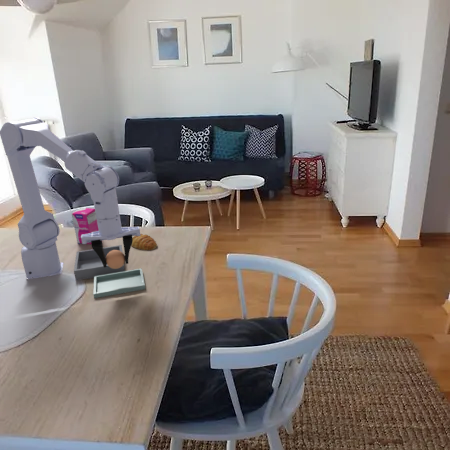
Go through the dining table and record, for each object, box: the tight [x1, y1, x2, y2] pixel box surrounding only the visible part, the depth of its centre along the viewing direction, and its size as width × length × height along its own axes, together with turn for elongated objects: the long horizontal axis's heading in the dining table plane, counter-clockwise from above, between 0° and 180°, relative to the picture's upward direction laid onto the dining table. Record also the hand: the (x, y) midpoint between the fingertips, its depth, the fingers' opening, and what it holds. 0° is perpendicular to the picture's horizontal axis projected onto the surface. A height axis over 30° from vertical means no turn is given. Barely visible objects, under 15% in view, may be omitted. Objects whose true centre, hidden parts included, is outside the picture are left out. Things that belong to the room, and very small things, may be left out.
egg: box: [106, 250, 126, 269], centre depth 109 cm, size 5×5×5 cm
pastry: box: [131, 233, 158, 251], centre depth 134 cm, size 9×7×4 cm
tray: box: [92, 268, 146, 299], centre depth 111 cm, size 13×10×2 cm
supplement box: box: [71, 207, 99, 245], centre depth 139 cm, size 6×6×12 cm
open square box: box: [73, 244, 126, 281], centre depth 122 cm, size 13×13×4 cm
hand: (116, 263), depth 109 cm, fingers closed on egg, 5 cm apart
